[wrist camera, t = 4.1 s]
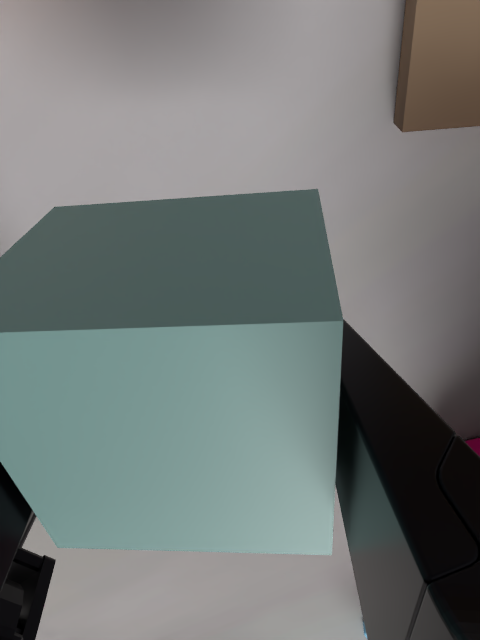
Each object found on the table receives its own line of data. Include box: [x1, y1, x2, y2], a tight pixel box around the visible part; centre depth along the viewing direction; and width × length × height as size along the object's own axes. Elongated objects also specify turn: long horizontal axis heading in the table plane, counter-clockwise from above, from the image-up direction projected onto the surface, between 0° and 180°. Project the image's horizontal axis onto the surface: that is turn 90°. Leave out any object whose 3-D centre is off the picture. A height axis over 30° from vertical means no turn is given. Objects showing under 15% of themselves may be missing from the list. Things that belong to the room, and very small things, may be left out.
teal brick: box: [0, 189, 343, 555], centre depth 8 cm, size 5×5×4 cm
